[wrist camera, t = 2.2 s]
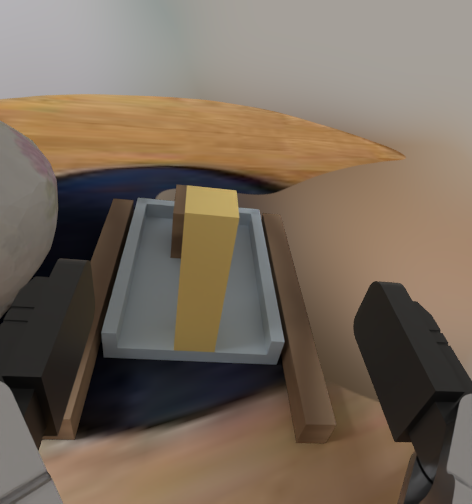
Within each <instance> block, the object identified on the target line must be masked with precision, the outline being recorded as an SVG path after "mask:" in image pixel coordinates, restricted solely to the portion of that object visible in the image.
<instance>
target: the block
mask: <svg viewBox="0 0 472 504" xmlns="http://www.w3.org/2000/svg"><path fill="white" fill-rule="evenodd" d="M186 192H187V186H184V185H177V187H176V195H175V202H174V210H173V224H172V240H171V257H170V258H179V259H181V253H182V240H183V228H184V216H185V204H186Z"/></svg>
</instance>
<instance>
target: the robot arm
mask: <svg viewBox="0 0 472 504" xmlns="http://www.w3.org/2000/svg"><path fill="white" fill-rule="evenodd" d="M94 313H95V296H94V287H93V278H92V269H91V263H90V261H89V260H76V259H62V258H60V259H58V261H57V262H56V264H55V266H54V268H53V270H52V272H51V275H50V277H38V276H36V277H35V278H33V279H32V280H31V281H30V282H29V283H27V284H26V285H25V286H24V287H23V288H21V289H20V290H19V292H18V294H17V296H16V298H15V299H14V301H13V303H12V305H11V309H9V310H8V312H7V314H6V316H5V318H4V319H3V320H4V321H3V323H1V325H0V504H63V502H62V500H61V498H60V495H59V493H58V491H57V489H56V487H55V484H54V482H53V480H52V478H51V476H50V474H49V473H48V472H47V470H46V467H45V465H44V463H43V461H42V459H41V456H40V454H39V452H38V450H39V447H40V444H41V441H42V438H43V436H58V434H59V431H60V428H61V424H62V421H63V418H64V415H65V411H66V408H67V405H68V402H69V398H70V395H71V392H72V389H73V385H74V382H75V379H76V376H77V372H78V369H79V366H80V362H81V359H82V356H83V353H84V349H85V346H86V343H87V340H88V336H89V333H90V330H91V327H92V323H93V319H94ZM354 335H355V338H356V341H357V344H358V346H359V349H360V352H361V354H362V357H363V359H364V362H365V365H366V367H367V370H368V372H369V375H370V378H371V380H372V383H373V385H374V388H375V391H376V394H377V396H378V399H379V402H380V404H381V407H382V410H383V412H384V415H385V417H386V420H387V423H388V425H389V428H390V431H391V433H392V436H393V439H394V441H395V442H412V444H413V446H414V449H415V451H414V452H413V454H412V455H411V458H410V461H409V464H408V468H407V471H406V475H405V478H404V482H403V485H402V489H401V492H400V496H399V499H398V503H397V504H472V381H471V379H470V378H469V376H468V374H467V373H466V371H465V369H464V368H463V366H462V364H461V363H460V361H459V360H458V358H457V356H456V355H455V353H454V351H453V350H452V348H451V347H450V346H448V342H447V340H446V338H445V337H444V335H443V333H440V328H439V327H438V325H437V324H436V322H435V320H434V319H433V317H432V315H431V314H429V312H427V311H426V310H425V309H424V308H423V307H422V306H421V305H420V304H419V303H418V302H415V301H412V300H411V298H410V296H409V294H408V293H407V291H406V289H405V288H404V286H403V285H402V284H400V283H392V282H377V281H375V282H373V283H372V284H371V285H370V287H369V289H368V291H367V293H366V295H365V297H364V299H363V301H362V303H361V305H360V307H359V309H358V312H357V314H356V316H355V319H354Z"/></svg>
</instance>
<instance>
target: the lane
mask: <svg viewBox="0 0 472 504" xmlns="http://www.w3.org/2000/svg"><path fill="white" fill-rule="evenodd" d="M132 218H133V200H124V199H113V202H112V204H111V207H110V210H109V213H108V215H107V218H106V221H105V224H104V226H103V229H102V232H101V234H100V237H99V240H98V243H97V245H96V248H95V251H94V254H93V256H92V259H91V262H90V263H91V269H92V278H93V287H94V296H95V313H94V319H93V323H92V327H91V330H90V333H89V336H88V340H87V343H86V346H85V349H84V353H83V356H82V359H81V362H80V366H79V369H78V372H77V376H76V379H75V382H74V385H73V389H72V392H71V395H70V398H69V402H68V405H67V408H66V411H65V415H64V418H63V421H62V424H61V428H60V431H59V434H58V436H43V438H42V439H68V440H75V436H76V433H77V429H78V425H79V421H80V418H81V414H82V410H83V406H84V403H85V399H86V395H87V391H88V388H89V384H90V380H91V376H92V373H93V369H94V365H95V361H96V358H97V354H98V350H99V346H100V343H101V339H102V335H101V332H102V328H103V324H104V321H105V317H106V313H107V310H108V306H109V302H110V299H111V295H112V291H113V288H114V284H115V280H116V277H117V273H118V269H119V266H120V262H121V258H122V255H123V251H124V247H125V244H126V240H127V236H128V233H129V229H130V225H131V222H132ZM261 222H262V227H263V232H264V237H265V242H266V248H267V253H268V258H269V263H270V268H271V274H272V279H273V284H274V289H275V294H276V300H277V305H278V310H279V315H280V320H281V325H282V331H283V336H284V341H285V342H284V345H283V348H282V351H281V358H282V364H283V369H284V375H285V380H286V386H287V392H288V397H289V403H290V409H291V414H292V420H293V426H294V431H295V437H296V442H297V443H326V441H327V440H328V438H329V437H330V435H331V433H332V432H333V430H334V428H335V427H336V425H337V424H336V421H335V417H334V413H333V409H332V406H331V402H330V398H329V394H328V391H327V387H326V383H325V379H324V376H323V372H322V368H321V364H320V361H319V357H318V353H317V350H316V346H315V342H314V338H313V335H312V331H311V327H310V323H309V320H308V316H307V312H306V308H305V305H304V301H303V297H302V293H301V290H300V286H299V282H298V278H297V275H296V271H295V267H294V263H293V260H292V256H291V252H290V248H289V245H288V241H287V237H286V234H285V230H284V226H283V222H282V218H281V215H277V214H267V213H263V215H262V219H261Z"/></svg>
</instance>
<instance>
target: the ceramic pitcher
mask: <svg viewBox="0 0 472 504" xmlns="http://www.w3.org/2000/svg"><path fill="white" fill-rule="evenodd" d="M57 215H58V196H57V180H56V177H55V175H54V172H53V170H52V167H51V164H50V163H49V161H48V160H47V158H46V157H45V156H44V155H43V153H42V152H41V151H40V150H39V148H38V147H37V146H36V145H35V143H34V142H33V141H32V140H30V139H29V138H27V137H26V136H24V135H23V134H21V133H20V132H18V131H17V130H15V129H14V128H12V127H10V126H9V125H7V124H5V123H3V122H2V121H0V318H1V317H2V316H3V315H4V314H5V313H6V312H7V310H8V309H9V308H10V307H11V305H12V303H13V301H14V299H15V298H16V296H17V294H18V292H19V290H20V289H21V288H23V287H24V286H25V285H26V284H27V283H28V282H29V280H30V279H31V278H32V277H33V275H34V274H35V273H36V271H37V270H38V269H39V267H40V266H41V264H42V263H43V261H44V259H45V257H46V256H47V254H48V252H49V251H50V249H51V245H52V242H53V238H54V234H55V230H56V223H57Z"/></svg>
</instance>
